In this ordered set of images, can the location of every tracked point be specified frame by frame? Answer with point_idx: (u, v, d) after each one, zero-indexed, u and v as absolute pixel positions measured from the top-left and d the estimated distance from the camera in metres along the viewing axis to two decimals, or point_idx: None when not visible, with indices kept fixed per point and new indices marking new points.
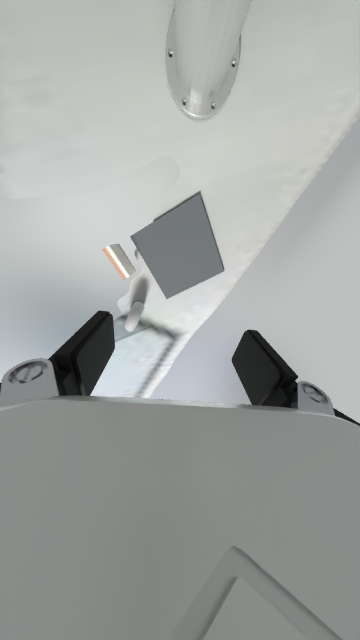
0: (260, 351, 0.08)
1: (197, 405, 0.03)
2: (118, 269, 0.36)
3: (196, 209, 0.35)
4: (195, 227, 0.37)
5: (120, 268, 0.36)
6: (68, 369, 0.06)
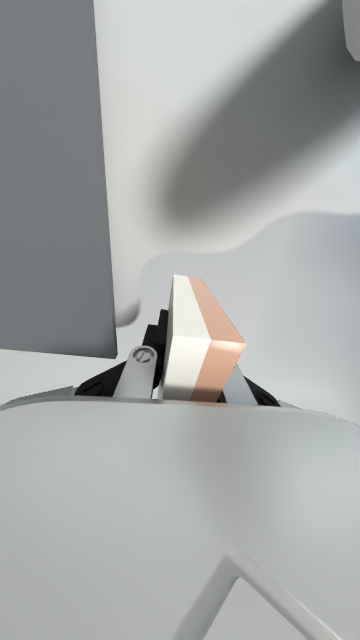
0: None
1: (197, 405, 0.03)
2: (203, 400, 0.05)
3: None
4: None
5: (187, 398, 0.05)
6: (161, 355, 0.07)
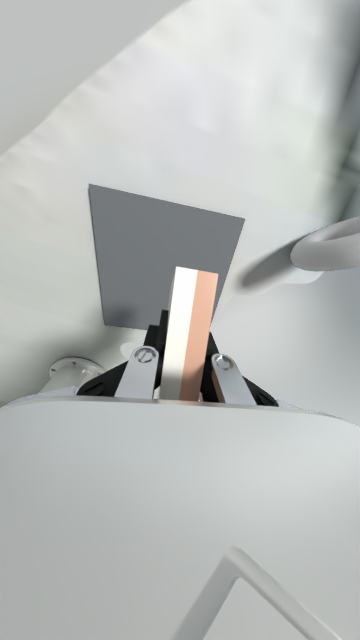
0: None
1: (197, 405, 0.03)
2: (199, 328, 0.07)
3: (113, 314, 0.25)
4: (123, 298, 0.24)
5: (187, 326, 0.07)
6: (163, 355, 0.07)
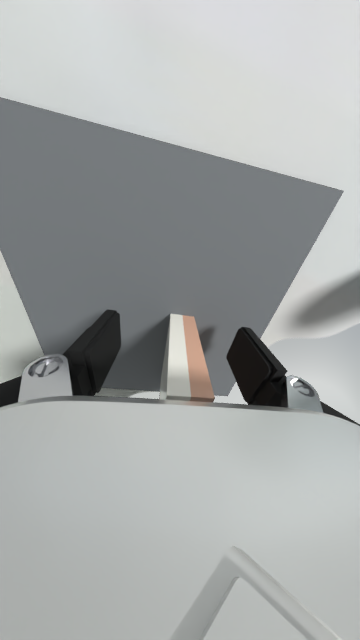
0: (252, 347, 0.08)
1: (197, 405, 0.03)
2: None
3: None
4: None
5: None
6: (81, 364, 0.06)
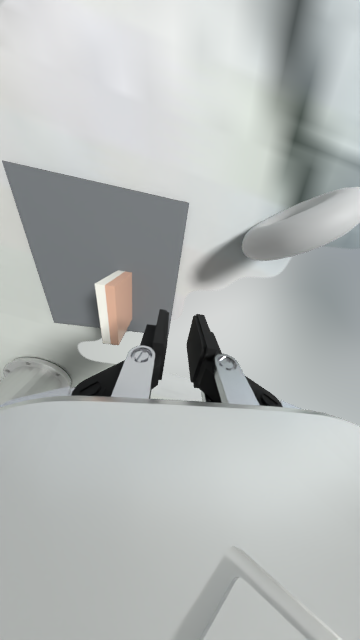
0: (197, 331, 0.09)
1: (197, 405, 0.03)
2: (111, 308, 0.16)
3: (62, 311, 0.23)
4: (68, 293, 0.22)
5: (106, 307, 0.16)
6: (159, 354, 0.07)
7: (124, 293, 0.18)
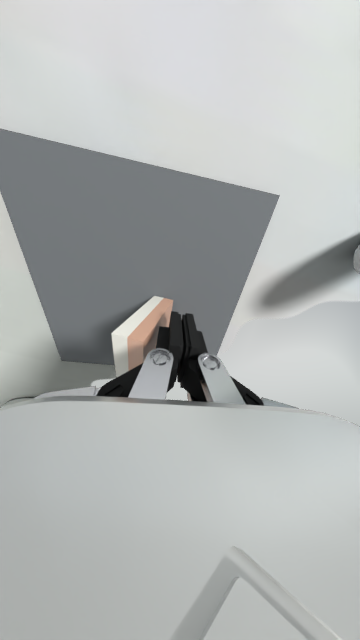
0: (184, 330, 0.09)
1: (197, 405, 0.03)
2: None
3: (72, 347, 0.17)
4: (82, 326, 0.16)
5: (126, 368, 0.09)
6: (176, 357, 0.07)
7: None
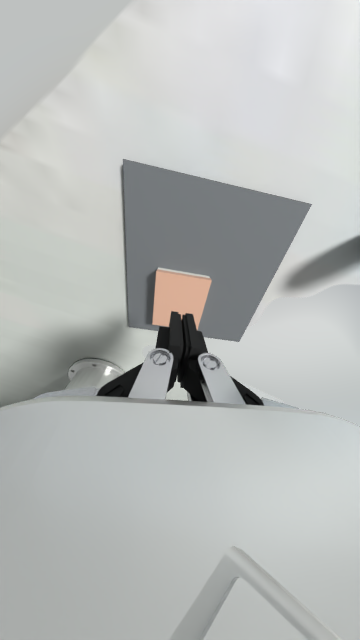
0: (184, 330, 0.09)
1: (197, 405, 0.03)
2: (155, 290, 0.19)
3: (139, 316, 0.23)
4: (151, 299, 0.21)
5: None
6: (176, 357, 0.07)
7: (179, 289, 0.18)
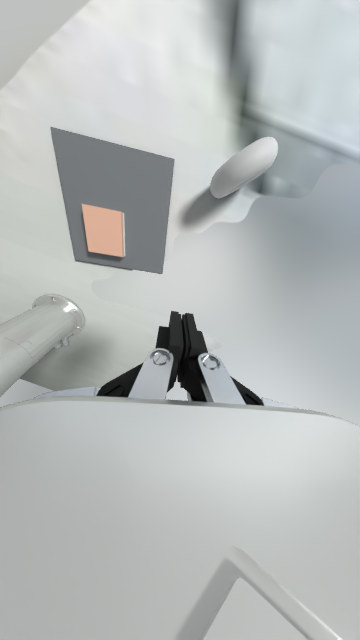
0: (184, 330, 0.09)
1: (197, 405, 0.03)
2: None
3: (81, 249, 0.31)
4: None
5: None
6: (176, 357, 0.07)
7: (101, 219, 0.27)
